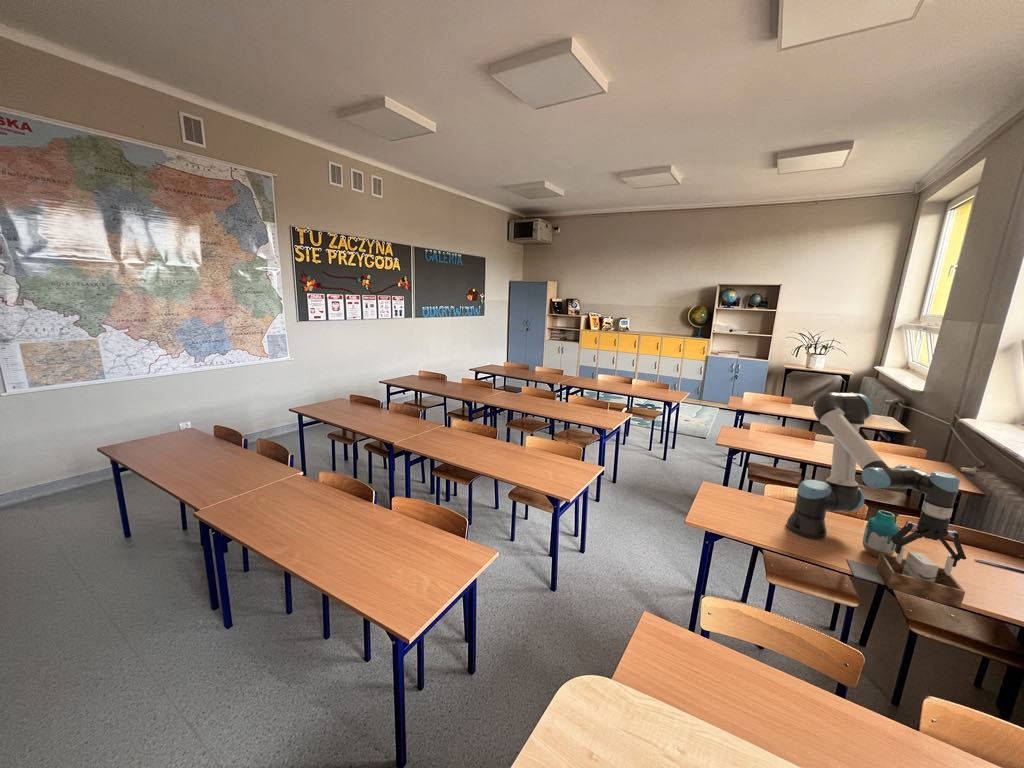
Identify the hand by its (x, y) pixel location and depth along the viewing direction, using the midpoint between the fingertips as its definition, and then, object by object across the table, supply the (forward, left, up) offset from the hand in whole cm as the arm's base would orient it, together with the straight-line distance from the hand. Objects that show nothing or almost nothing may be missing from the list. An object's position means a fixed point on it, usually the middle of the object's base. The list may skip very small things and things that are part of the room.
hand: (922, 567), depth 155 cm
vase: (-7, +19, -8) cm, 22 cm away
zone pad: (-15, +1, -8) cm, 17 cm away
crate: (0, 0, -8) cm, 8 cm away
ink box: (0, 0, -9) cm, 8 cm away
